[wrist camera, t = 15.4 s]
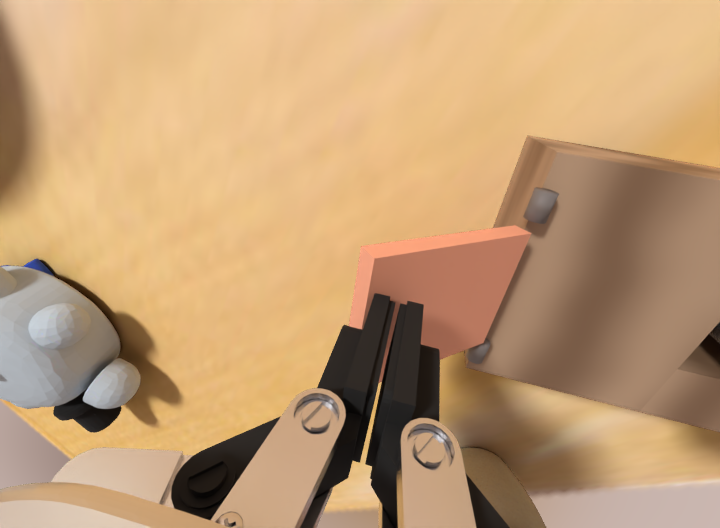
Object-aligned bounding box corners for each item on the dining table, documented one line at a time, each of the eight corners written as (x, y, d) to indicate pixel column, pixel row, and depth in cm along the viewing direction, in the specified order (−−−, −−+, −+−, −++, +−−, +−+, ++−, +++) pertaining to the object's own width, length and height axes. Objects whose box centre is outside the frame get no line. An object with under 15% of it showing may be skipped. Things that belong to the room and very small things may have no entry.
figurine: (-56, 252, 32) (88, 383, 42) (-192, 311, 25) (19, 451, 35) (64, 222, 26) (195, 380, 36) (-66, 286, 19) (139, 459, 29)
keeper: (515, 225, 14) (531, 233, 13) (471, 332, 17) (483, 343, 16) (361, 245, 10) (374, 258, 9) (340, 378, 13) (350, 393, 12)
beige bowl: (470, 505, 33) (478, 599, 27) (399, 452, 32) (390, 540, 26) (560, 476, 29) (594, 583, 22) (481, 412, 27) (494, 508, 21)
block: (882, 195, 15) (1115, 252, 10) (709, 373, 21) (797, 467, 16) (518, 134, 17) (553, 154, 12) (454, 313, 23) (458, 379, 18)
